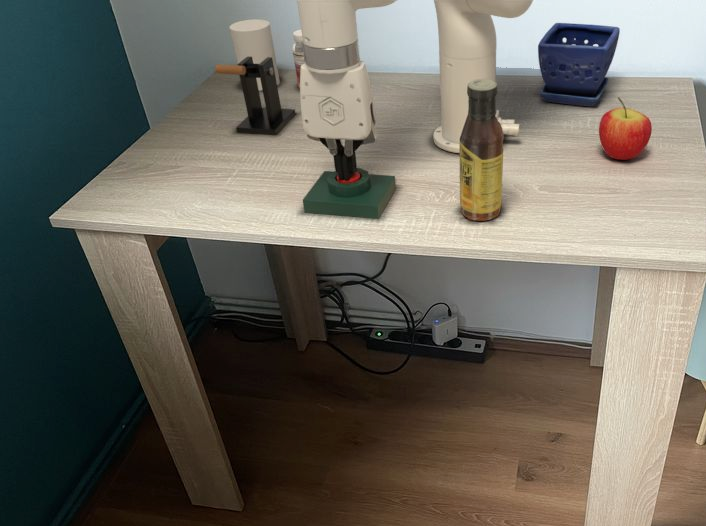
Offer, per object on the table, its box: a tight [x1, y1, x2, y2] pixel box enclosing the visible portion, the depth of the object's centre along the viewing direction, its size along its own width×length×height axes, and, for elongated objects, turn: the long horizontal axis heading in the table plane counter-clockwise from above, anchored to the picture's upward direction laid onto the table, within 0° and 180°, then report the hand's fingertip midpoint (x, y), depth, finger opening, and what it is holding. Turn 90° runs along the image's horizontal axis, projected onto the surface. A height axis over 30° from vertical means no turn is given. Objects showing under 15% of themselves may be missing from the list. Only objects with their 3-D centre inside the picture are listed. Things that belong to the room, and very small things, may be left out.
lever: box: [214, 63, 260, 78], centre depth 129 cm, size 12×5×2 cm, turn 167°
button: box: [337, 172, 360, 183], centre depth 113 cm, size 4×4×2 cm
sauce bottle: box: [459, 79, 504, 222], centre depth 104 cm, size 6×6×20 cm
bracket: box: [235, 56, 297, 136], centre depth 136 cm, size 10×8×12 cm
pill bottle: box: [291, 29, 305, 88], centre depth 151 cm, size 6×6×11 cm
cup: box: [229, 19, 281, 92], centre depth 153 cm, size 8×8×12 cm
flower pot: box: [537, 22, 621, 107], centre depth 141 cm, size 13×13×12 cm
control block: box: [302, 167, 397, 219], centre depth 114 cm, size 12×10×4 cm
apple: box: [598, 96, 653, 161], centre depth 120 cm, size 8×8×10 cm
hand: (346, 176), depth 112 cm, fingers closed
